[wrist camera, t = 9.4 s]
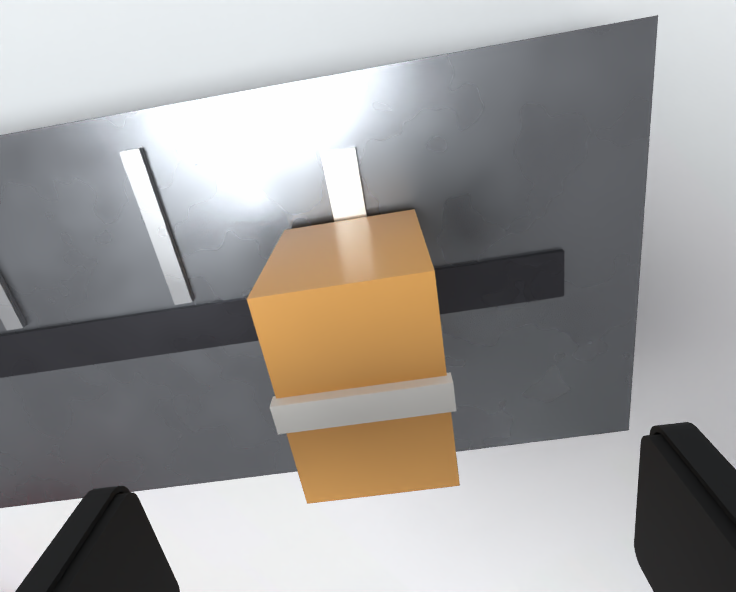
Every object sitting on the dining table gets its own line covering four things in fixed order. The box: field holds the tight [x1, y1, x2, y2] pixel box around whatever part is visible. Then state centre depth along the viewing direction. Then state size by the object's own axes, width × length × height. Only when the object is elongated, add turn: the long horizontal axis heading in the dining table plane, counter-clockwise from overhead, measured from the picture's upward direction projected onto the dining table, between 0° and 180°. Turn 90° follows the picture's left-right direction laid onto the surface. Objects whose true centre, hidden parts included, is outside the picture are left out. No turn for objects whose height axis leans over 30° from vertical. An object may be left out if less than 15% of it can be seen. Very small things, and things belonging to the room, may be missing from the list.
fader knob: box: [247, 209, 460, 504], centre depth 14 cm, size 4×6×5 cm
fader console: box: [0, 15, 658, 508], centre depth 19 cm, size 30×14×4 cm, turn 99°
